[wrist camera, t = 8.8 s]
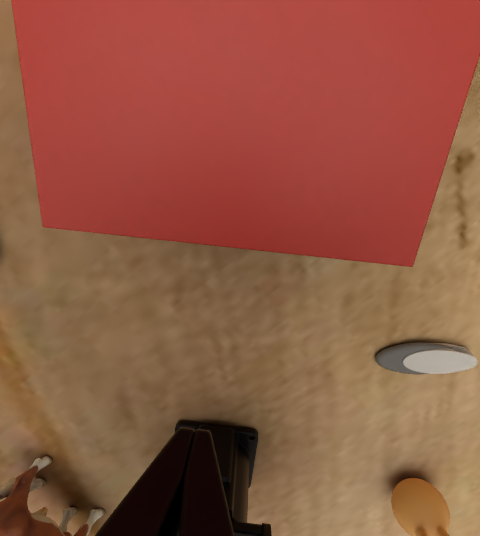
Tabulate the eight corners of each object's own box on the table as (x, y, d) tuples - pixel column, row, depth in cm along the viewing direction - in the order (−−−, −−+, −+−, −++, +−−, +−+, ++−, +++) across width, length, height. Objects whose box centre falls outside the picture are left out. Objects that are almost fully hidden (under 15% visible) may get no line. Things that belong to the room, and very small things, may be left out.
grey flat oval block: (372, 366, 24) (376, 377, 23) (375, 337, 23) (379, 348, 22) (465, 368, 23) (474, 380, 22) (472, 339, 22) (481, 349, 21)
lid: (9, -132, 10) (-11, -154, 9) (510, -88, 9) (531, -105, 9) (53, 222, 14) (41, 227, 13) (404, 259, 14) (412, 267, 13)
